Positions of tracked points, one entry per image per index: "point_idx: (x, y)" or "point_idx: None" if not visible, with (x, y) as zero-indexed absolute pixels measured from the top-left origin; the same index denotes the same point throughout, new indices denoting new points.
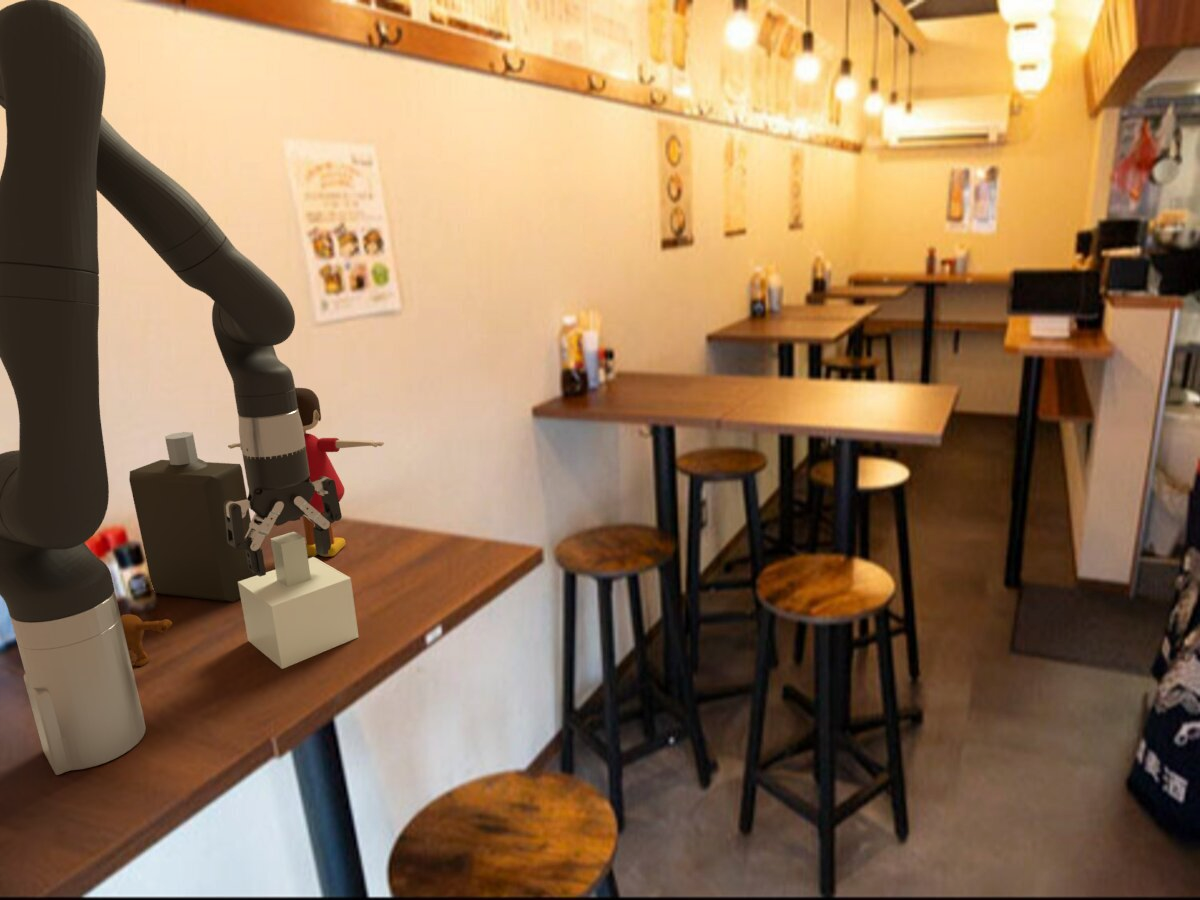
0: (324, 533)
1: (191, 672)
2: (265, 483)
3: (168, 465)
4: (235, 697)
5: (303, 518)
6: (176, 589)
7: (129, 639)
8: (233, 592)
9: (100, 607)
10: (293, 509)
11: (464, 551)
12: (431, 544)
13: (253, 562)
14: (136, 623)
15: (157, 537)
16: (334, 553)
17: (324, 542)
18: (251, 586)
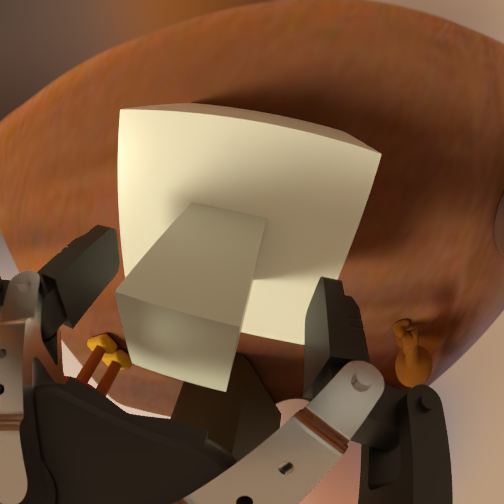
0: (52, 266)
1: (404, 257)
2: None
3: None
4: (430, 136)
5: (107, 391)
6: (271, 403)
7: (424, 350)
8: (237, 364)
9: None
10: (64, 450)
11: (7, 212)
12: (25, 258)
13: (357, 329)
14: (417, 365)
15: None
16: (103, 334)
17: (78, 247)
18: None
